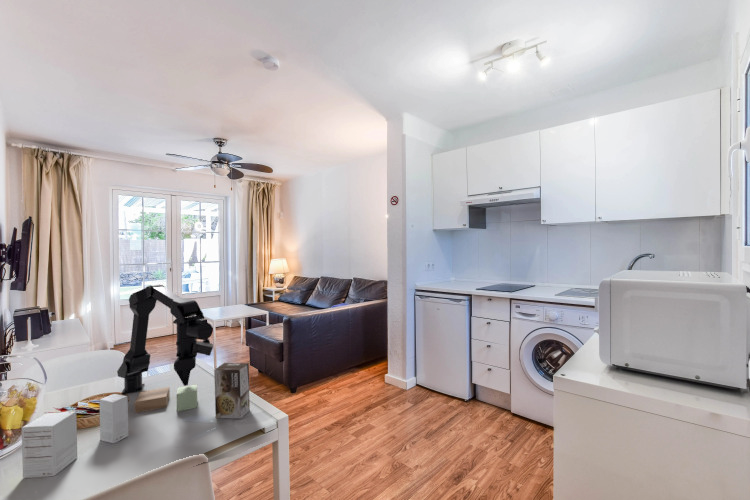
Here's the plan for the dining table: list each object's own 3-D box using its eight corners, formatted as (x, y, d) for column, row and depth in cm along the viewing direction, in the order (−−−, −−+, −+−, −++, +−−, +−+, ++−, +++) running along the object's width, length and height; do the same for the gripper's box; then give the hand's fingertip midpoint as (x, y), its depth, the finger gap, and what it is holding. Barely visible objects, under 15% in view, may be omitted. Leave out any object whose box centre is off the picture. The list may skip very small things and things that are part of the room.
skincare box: (129, 436, 98) (128, 395, 98) (113, 444, 94) (112, 402, 94) (115, 432, 100) (114, 393, 100) (99, 440, 96) (98, 399, 96)
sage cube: (178, 404, 118) (178, 387, 118) (197, 400, 121) (197, 384, 121) (176, 411, 113) (176, 394, 113) (196, 407, 115) (196, 390, 115)
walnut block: (140, 402, 120) (140, 391, 120) (169, 397, 124) (169, 387, 124) (135, 413, 112) (134, 402, 112) (166, 408, 116) (166, 396, 116)
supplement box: (48, 459, 87) (47, 412, 87) (78, 457, 88) (77, 410, 88) (21, 479, 80) (20, 427, 80) (54, 477, 81) (53, 425, 80)
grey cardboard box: (250, 409, 113) (249, 362, 113) (241, 419, 107) (240, 369, 107) (225, 408, 114) (224, 362, 114) (214, 418, 108) (213, 369, 107)
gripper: (211, 340, 112) (212, 385, 112) (211, 328, 128) (212, 368, 129) (173, 344, 107) (174, 392, 107) (178, 331, 123) (178, 373, 124)
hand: (186, 380), depth 117 cm, fingers open, 9 cm apart
